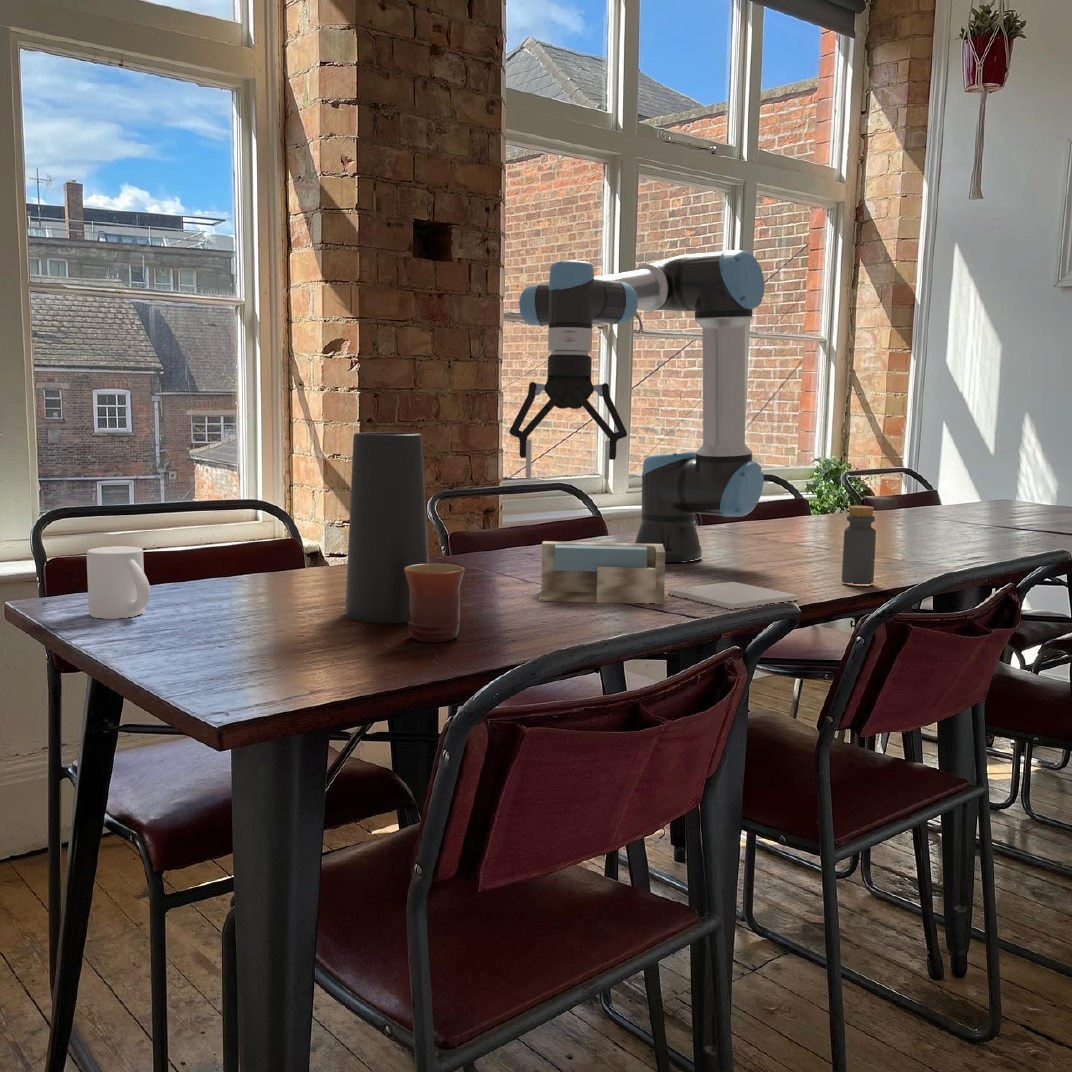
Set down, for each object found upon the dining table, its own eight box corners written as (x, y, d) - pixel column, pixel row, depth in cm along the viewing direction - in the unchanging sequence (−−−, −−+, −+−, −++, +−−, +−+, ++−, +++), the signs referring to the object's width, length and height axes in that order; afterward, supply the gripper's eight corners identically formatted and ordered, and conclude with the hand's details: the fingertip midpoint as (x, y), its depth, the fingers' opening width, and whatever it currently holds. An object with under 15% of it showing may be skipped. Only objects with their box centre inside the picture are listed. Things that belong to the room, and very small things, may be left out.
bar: (554, 570, 188) (554, 547, 187) (555, 566, 192) (555, 544, 191) (646, 572, 187) (647, 549, 186) (645, 569, 191) (646, 546, 190)
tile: (668, 594, 194) (668, 589, 194) (733, 586, 203) (733, 581, 203) (731, 609, 181) (731, 603, 181) (797, 600, 190) (797, 595, 189)
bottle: (873, 583, 209) (877, 506, 207) (872, 588, 204) (876, 508, 202) (842, 581, 211) (846, 504, 209) (840, 585, 205) (844, 507, 204)
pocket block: (538, 601, 186) (539, 549, 185) (542, 590, 197) (543, 541, 195) (663, 604, 185) (665, 552, 184) (661, 593, 195) (662, 543, 194)
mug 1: (123, 544, 175) (168, 551, 168) (125, 607, 176) (170, 616, 169) (75, 549, 168) (120, 557, 161) (78, 615, 170) (122, 625, 163)
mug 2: (464, 644, 153) (465, 573, 152) (402, 645, 152) (402, 573, 151) (463, 626, 165) (463, 560, 163) (405, 627, 164) (405, 560, 163)
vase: (446, 611, 176) (447, 433, 173) (402, 627, 164) (401, 435, 160) (376, 603, 182) (375, 431, 178) (328, 618, 170) (325, 433, 166)
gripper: (495, 352, 182) (493, 478, 185) (643, 354, 181) (640, 481, 183) (499, 354, 190) (498, 475, 192) (642, 356, 188) (638, 477, 191)
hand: (567, 478), depth 188 cm, fingers open, 13 cm apart
